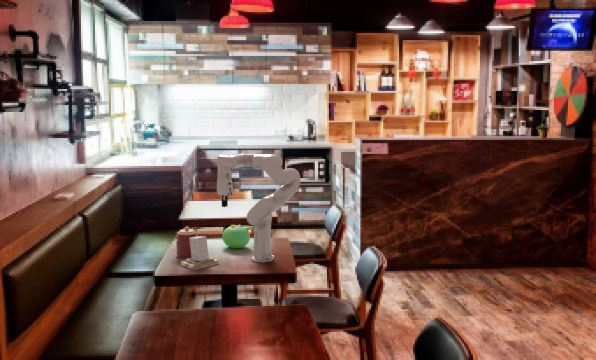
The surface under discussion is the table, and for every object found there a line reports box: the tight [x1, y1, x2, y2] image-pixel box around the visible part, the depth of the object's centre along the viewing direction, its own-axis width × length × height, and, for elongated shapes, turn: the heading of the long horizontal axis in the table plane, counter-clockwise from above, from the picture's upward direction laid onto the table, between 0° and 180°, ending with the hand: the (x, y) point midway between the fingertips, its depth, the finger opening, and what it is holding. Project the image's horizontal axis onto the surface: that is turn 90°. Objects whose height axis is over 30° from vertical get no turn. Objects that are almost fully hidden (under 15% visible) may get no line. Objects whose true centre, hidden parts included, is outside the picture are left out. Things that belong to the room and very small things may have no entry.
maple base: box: [180, 256, 220, 271], centre depth 362 cm, size 13×17×3 cm
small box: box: [189, 235, 210, 261], centre depth 362 cm, size 8×6×13 cm
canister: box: [175, 226, 199, 259], centre depth 379 cm, size 13×13×18 cm
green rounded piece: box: [221, 224, 255, 249], centre depth 398 cm, size 18×17×15 cm
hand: (224, 206), depth 379 cm, fingers closed
